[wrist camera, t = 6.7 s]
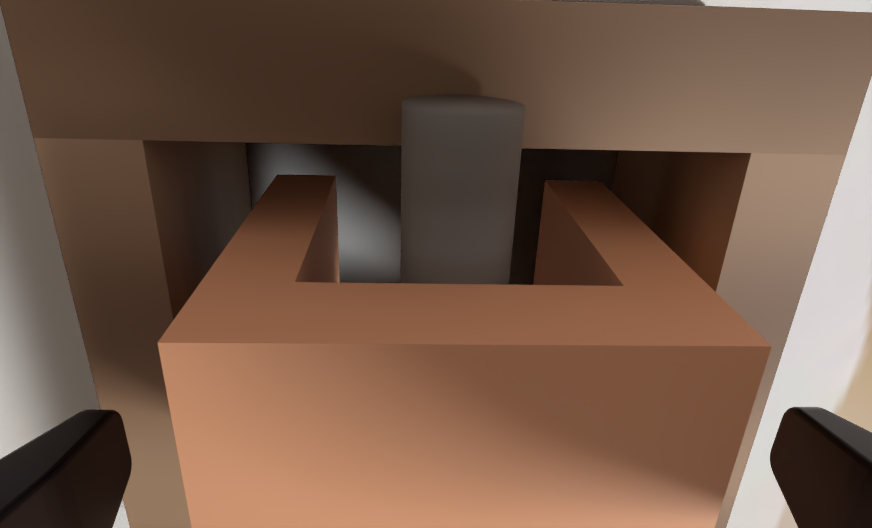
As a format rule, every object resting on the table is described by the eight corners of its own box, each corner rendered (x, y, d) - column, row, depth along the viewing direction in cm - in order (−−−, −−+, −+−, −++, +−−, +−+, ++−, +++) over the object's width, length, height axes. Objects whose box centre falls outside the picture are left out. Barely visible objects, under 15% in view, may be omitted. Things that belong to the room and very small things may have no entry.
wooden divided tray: (602, 526, 20) (696, 782, 13) (237, 532, 19) (152, 806, 13) (708, 5, 13) (995, 17, 7) (157, -14, 13) (-104, -22, 6)
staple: (600, 181, 13) (772, 346, 7) (575, 342, 14) (695, 587, 8) (277, 174, 12) (157, 342, 6) (290, 340, 14) (203, 596, 8)
